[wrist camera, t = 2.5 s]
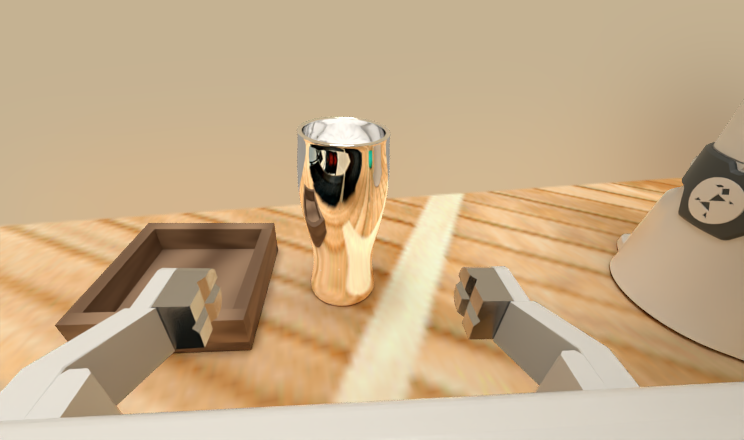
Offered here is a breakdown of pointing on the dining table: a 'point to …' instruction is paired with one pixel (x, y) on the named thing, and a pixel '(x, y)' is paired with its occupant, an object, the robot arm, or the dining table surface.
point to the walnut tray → (188, 250)
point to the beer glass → (343, 201)
